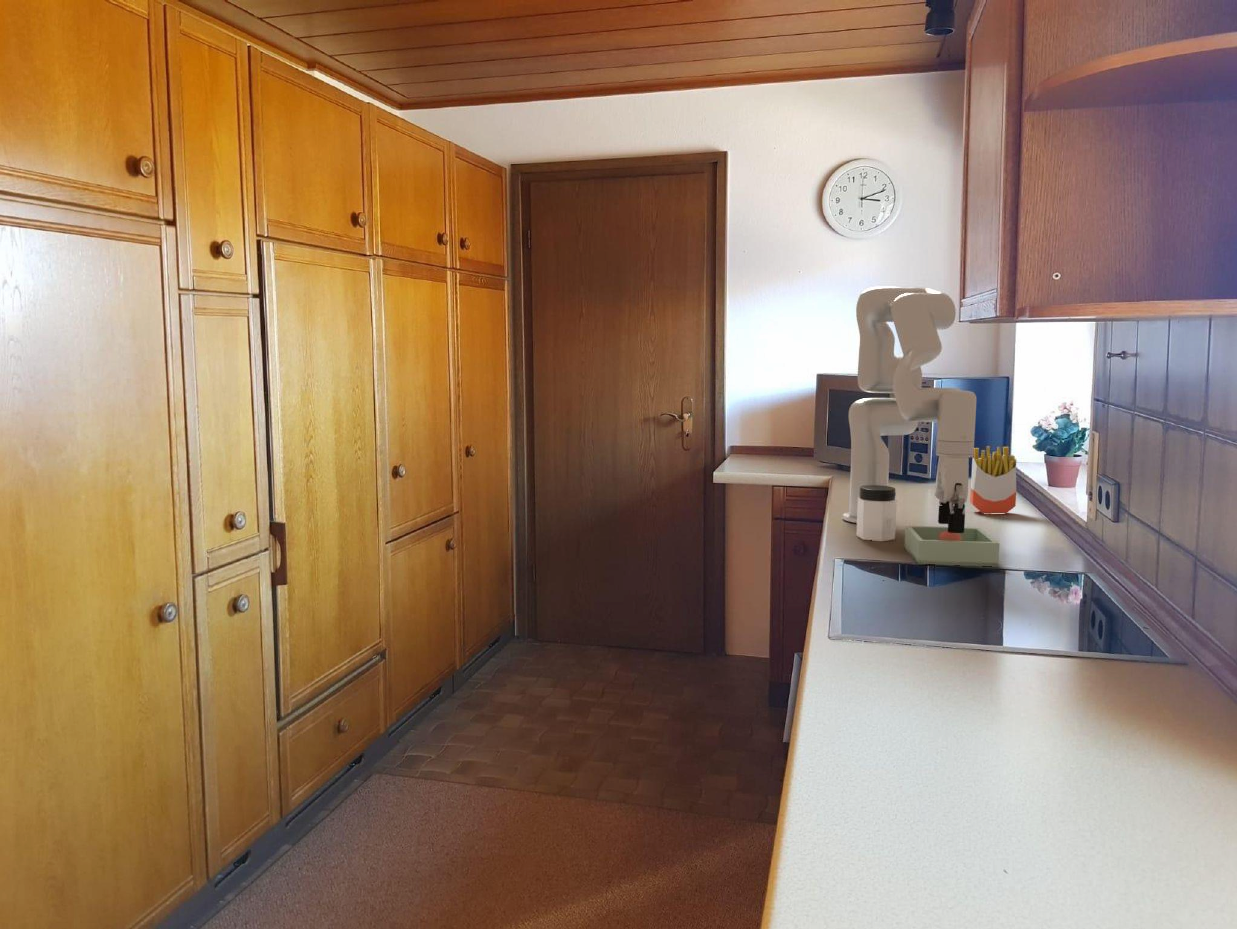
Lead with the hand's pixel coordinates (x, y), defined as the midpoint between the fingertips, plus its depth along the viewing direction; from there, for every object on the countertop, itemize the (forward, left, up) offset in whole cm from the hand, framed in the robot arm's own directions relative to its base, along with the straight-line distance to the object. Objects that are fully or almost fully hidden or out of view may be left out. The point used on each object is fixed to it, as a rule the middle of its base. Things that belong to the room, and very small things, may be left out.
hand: (950, 528), depth 200 cm
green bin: (0, 0, -6) cm, 6 cm away
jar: (-18, -13, -6) cm, 23 cm away
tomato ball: (0, 0, -3) cm, 3 cm away
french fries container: (-56, +23, -6) cm, 61 cm away
